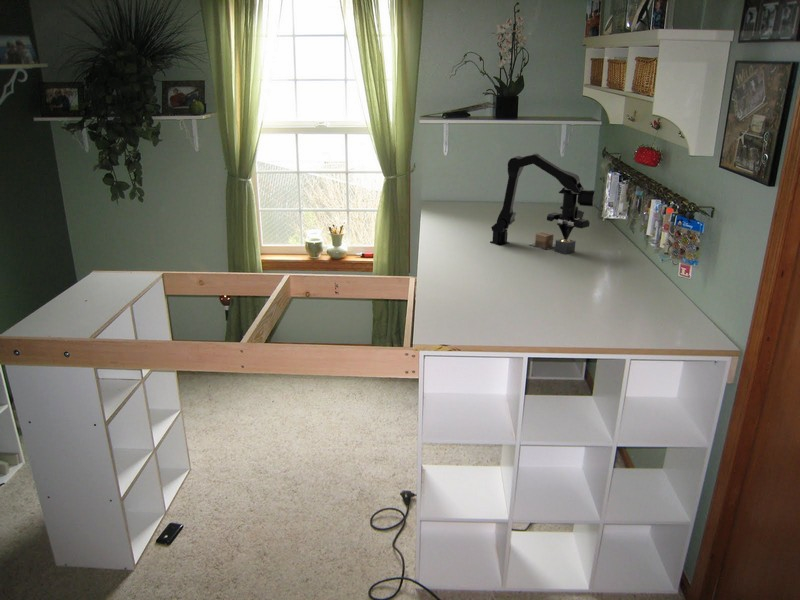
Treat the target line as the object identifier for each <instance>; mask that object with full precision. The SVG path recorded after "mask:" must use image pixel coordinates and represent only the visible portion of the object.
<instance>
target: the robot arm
mask: <svg viewBox="0 0 800 600" xmlns="http://www.w3.org/2000/svg"><path fill="white" fill-rule="evenodd" d="M531 165H534V166H536V167H538V168H539V169H540V170H543V171H544V172H546V173H547V174H549V175H550V176H551V177H553V178H555V179H556V180H557V182H559V184H560V185H562V186H563V187H562V188H561V190H559V191H558V193H559V194H563V197H562V206H560V207H559V210H561V213H558V212H551V213H548V214H547V215H546V221H549V222H553V221H554V220H556V221H557V223H556V225H558V227H559V229H560V232H561V234H562V236H563V238H564V239H565V240H567V239H569V237H570V235H571V233H572V231H573V229H574V228H577V229H584V228H588V227H590V224H591V223H590V221H589V219H585V218H583V217H584V214H585V212H584V211H582V210H579V206H582V207H595V205H596V204H595V203H596V201H597V199H596V198H597V197H596V190H594V189H592V190H591V189H589V190H588V189H585V188H584V186H583V185H582V183H581V182H580V180H581V179H580V176H579V175H578V174H576V173H574V172H572V171H571V172H570V171H567V170H564V169H563V168H560V167H558V166H557V165H555V164H554V163H553V162H551V161H549V160H548V159H546V158H545V157H543V156H541V155H540V154H539V153H536V152H535V153H533V154H530V155H525V156H520V155H516V156H514V157H512V158H510V159H508V162H507V176H508V179H507V184H506V189H505V192H504V193H505V194H504V198H503V199H504V200H503V204H502V208H501V210H500V211H499V215H498V217H497V219H496V223H494V224H493V225H492V226H491V227H490V228H491V231H492V239H491V240H490V241H489V243H490V244H493V245H496V246H503V245H506V244H510V242H509V241H508V229H509V227H510V226H511V225H512V224H513V223H514V222H515V221H516V220H515V219H516V218H515V217H516V214H517V213H516V212H514V209H513V208H514V203H515V197H516V193H517V189H518V188H517V187H518V184H519V177H520V176H521V174H522V172H523V170H524V167H527V166H531ZM577 204H578V205H579V206H577Z"/></svg>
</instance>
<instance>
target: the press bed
mask: <svg viewBox="0 0 800 600" xmlns="http://www.w3.org/2000/svg"><path fill="white" fill-rule="evenodd" d="M555 244H556V243H555ZM555 244H554V243H553V245H552V246H548V247H541V246H538V245H535V242H534V243H531V244H529V246H530V247H533V248H537V249H540V250H544V251H547V250H551V249H553V248H554V249H555Z"/></svg>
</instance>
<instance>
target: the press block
mask: <svg viewBox="0 0 800 600" xmlns="http://www.w3.org/2000/svg"><path fill="white" fill-rule="evenodd" d="M562 239H564V237H563V238H560V239H556V240H555V247H554V252H556V253H560V254H563V255H569V254H572V253H575V250H576V242H577V241H576V240H574V239H569V238H568V239H569V240H570V242H563V241H561V240H562Z"/></svg>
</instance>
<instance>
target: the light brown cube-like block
mask: <svg viewBox="0 0 800 600" xmlns="http://www.w3.org/2000/svg"><path fill="white" fill-rule="evenodd" d="M534 241H535V242H534V243H535V245H538V246H541V247H548V246H552V245H553V244H554V234H552V233H549V232H545V231H543V232H538V233H536V234H535V239H534Z"/></svg>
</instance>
